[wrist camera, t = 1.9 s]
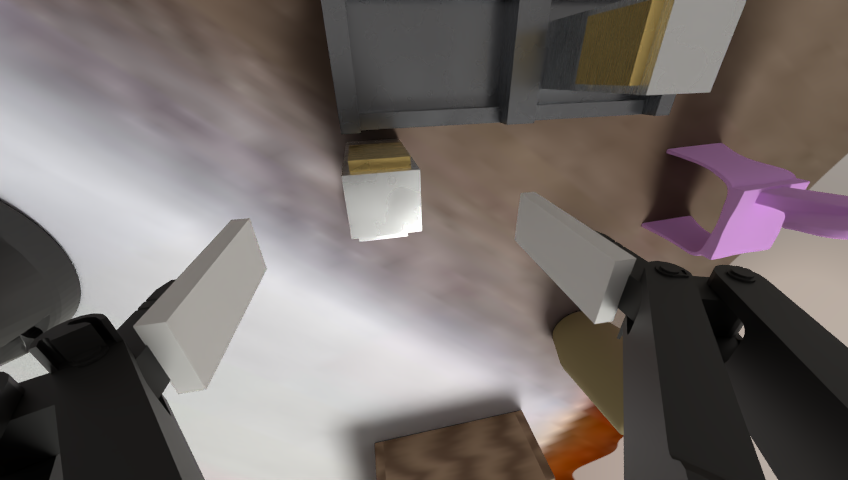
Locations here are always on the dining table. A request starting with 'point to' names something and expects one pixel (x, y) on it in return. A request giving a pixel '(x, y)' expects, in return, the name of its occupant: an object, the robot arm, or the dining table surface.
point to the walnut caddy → (466, 453)
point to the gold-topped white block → (381, 190)
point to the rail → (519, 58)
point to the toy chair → (752, 207)
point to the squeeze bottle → (593, 362)
